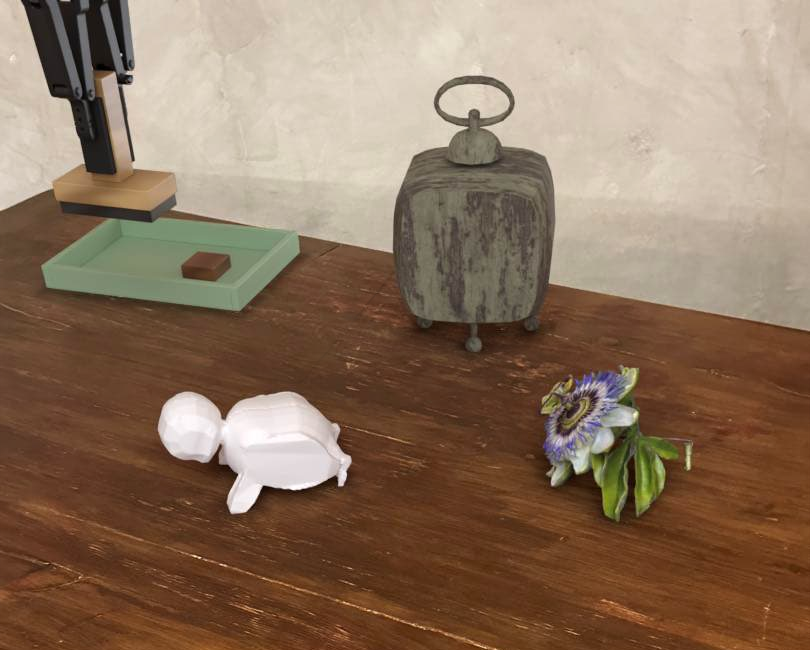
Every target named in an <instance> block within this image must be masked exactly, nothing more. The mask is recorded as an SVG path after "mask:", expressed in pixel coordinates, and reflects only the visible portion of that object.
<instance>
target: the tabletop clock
mask: <svg viewBox="0 0 810 650" xmlns="http://www.w3.org/2000/svg"><path fill="white" fill-rule="evenodd" d="M462 85H463V86H464V85H483V86H484V85H485V86H491V87H494V88H496V89H499V91H501V92H502V93H504V94H505V96H506V97H507V99H508V102H509V104H508V108H507V109H506V110H505V111H503V112H502V113H500V114H497V115H494V116H491V117H481V112H480V110H479V109H477V108H472V109H470V110H469V111H468V114H467V117H458V116H454V115H451V114H449V113H447V112H445V111H444V110H442V108H441V107H440V99H441V98H442V96H443V95H444V94H445V93H446V92H447V91H448V90H450V89H453V88H454V87H457V86H462ZM515 104H516V100H515V96H514V94H513V92H512V90H511V89H510V88H509V86H507V85H506V83H504V82H503V81H501V80H499V79H497V78H495V77H493V76H492V77H491V76H486V75H462V76H458V77H454V78H451V79H450V80H448V81H445V82H444V83H443V84H442V85H441V86H440V87H439V88H438V89H437V91H436V93H435V96H434V97H433V107H434V109H435V112H436V113H437V115H438V116H439V117H440V118H442V120H444V121H445V122H447V123H450V124H452V125H455V126H457V127H465V128H464V129H462V130H459V131H457V132H456V133H455V134H454V135H453V136H452V138H451V139H450V141H449V143H448V146H440V147H433V148H429V149H425V150H423V151H420V152H419V153H416V154H414V155H413V156H412V158H411V161H410V163H409V165H408V168H407V170H406V173H405V175H404V178H403V180H402V183H401V185H400V188H399V190H398V193H397V196H396V198H395V203H394V204H395V205H394V211H393V221H392V222H393V228H392V255H393V256H392V257H393V262H394V270H395V271H394V272H395V278H396V283H397V288H398V292H399V296H400V299H401V301H402V304H403V305H404V307H405V310H406V311H407V312H408V313H409V314H412V315H414V316H416V317H417V318H416V324H417V325H418V327H419V328H421V329H429V328H430V327H431V326H432V325H433V321H436V322H437V321H438V322H446V323H447V322H449V323H457V324H458V323H459V324H467V325H469V329H470V337H468V338H467V339H466V341H465V344H464V347H465V349H466V351H467V352H469V353H472V354H473V353H474V354H475V353H479V352H481V350H482V348H483V342H482V340H481V339H480V338H479V337H478V326H479V325H480V324H503V323H504V324H506V323H517V322H523V328H524V329H525V330H526V331H527V332H535V331H537V330H538V329H539V328H540V324H541V321H540V319H539V317H538V315H539V313H540V311H541V309H542V307H543V305H544V304H545V300H546V297H547V293H548V290H549V289H548V288H549V284H550V283H549V282H550V276H551V275H550V274H551V266H552V258H553V250H554V241H555V240H554V239H555V230H556V197H555V186H554V179H553V173H552V170H551V167H550V164H549V162H548V160H547V157H546V155H543V154H541V153H540V152H539V153H538V152H537V151H535V150H531V149H527V148H524V147H515V146H502V142H501V140H500V139H499V137H498V136H497V135H496V134H495V133H494V132H493V131H491V130H489V129H488V128H484V127H490V126H493V125H497V124H500V123H501V122H504V121H505V120H506V119H507V118H508V117H509V116H511V114H512V113H513V111H514V109H515Z"/></svg>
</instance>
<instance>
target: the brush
mask: <svg viewBox="0 0 810 650" xmlns="http://www.w3.org/2000/svg"><path fill="white" fill-rule="evenodd" d="M92 71H93V79H94V87H95V97H102V99H103V104H104V109H105V114H106V119H107V124H108V129H109V135H110V140H111V145H112V150H113V155H114V160H115V166H116V171H117V172H116V173H115V174H113V175H108V174H98V173H88V172H87V171H86V167H85V163H81V164H79V165H77V166H76V167H74V168H73V169H71V170H69V171H68V172H65V173H64V174H63V175H60V176H59V177H58V178H56V179H54V180H53V181H51V184H52V189H53V193H54V197H55V201H57V202H59V206H60V210H61V213H62V214H69V215H78V216H87V217H96V218H103V219H108V218H113V219H121V220H130V221H139V222H148V223H153V222H154V221H155V220H157V219H158V218H159V217H161V218H162V216H164V215H165V214H166V213H168V212H169V211H171V210H172V209H173V208H174V207H176V206H177V205H178V203H177V198H176V193H178V191H179V189H178V185H177V178H176V173H175V172H172V171H171V172H170V171H162V170H161V171H159V170H150V169H139V168H134V165H133V162H132V159H131V154H130V149H129V143H128V138H127V132H126V127H125V121H124V116H123V111H122V105H121V100H120V94H119V89H118V84H117V78H116V73H115V71H101V70H93V69H92Z"/></svg>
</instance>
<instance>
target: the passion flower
mask: <svg viewBox="0 0 810 650" xmlns="http://www.w3.org/2000/svg"><path fill="white" fill-rule="evenodd" d="M617 367H618V373H616V371H613V370H609V369H606V370H604V373H603V372H602V371H601V370H598V373H597V375H596V373H595V372H594V371H590V373H589V376H587V375H586V374H583V379H581V380H578V379H577V378H574V375H573V374H571V373H570V374H568V375H567V376H565V377H564V378H563V379H562V380H561V381H559V382H557V383H556V384H554V385H553V387H552V389H551V390H550V391H549V393H548V394H547V395H545V396H543V397H542V398H541V406H540V407H539V409H538V411H537V414H536V417H537V418H543V417H545V416H546V415H548V414H549V417H548V420H546V421H545V422H544V424H543V430H544V432H545V434H546V436H545V441H544V442H543V445H542V449H543V450H544V451H545V453H544V455H545V457H546V458H547V459H548V460H549V463H550V465H552V466H551V469H550V470H549V471H547V472H546V473H545V475H546V476H547V477H549V478H550V479H551V480H550V486H551V487H552V488H557V487H561V486H564V484H566V482H567V481H568V480H569V479H570V478H571V477H572V475H573V474H575V475H576V476H580V475H584V474H586V473H587V472H589V471H590V470H591V469H592V473H593V479H594V481H595V483H596V484H597V486H598V487H599V488H601V497H602V502H601V505H602V511H603V513H604V516H605V517H607V518H608V519H611V520H614V521H615V522H617V523H619V522H620V518H621V511H622V510H623V508H624V506H625V504H626V500H627V499H628V493H629V485H628V483H629V470H628V464H629V462H630V461H631V459H632V457H633V458H634V460H633V461H634V474H635V477H634V479H635V487H634V489H633V490H634V491H633V492H634V504H635V515H636V518H639V517H640V516H641V515H642V514H643V513H644V512H646V511H647V510H648V509H649V508H650V506H651V504H652V503H653V502H655V501H656V500H657V499H658V498H659V497H660V494H662V492H663V490H664V488H665V483H666V476H667V475H666V473H667V472H666V469H665V466H664V463H663V462H662V460H661V459H660V458H662V459H665V461H676V460H679V459H680V458H681V455H680V452H679V450H678V448H677V447H675V445H674V444H673V443H671V442H670V441H673V442H683V443H682V444H681V445H682V446H683V448H684V468H683V470H684V472H687V473H688V472H690V471H691V469H692V457H693V452H692V451H693V450H692V448H693V445H694V442H695V441H694V440H691V439H686V438H677V437H658V436H657V437H656V436H644V435H643V433H642V431H641V428H640V425H639V418H640V407H639V406H636V400H635V396H634V395H635V394H634V389H635V387H636V386H637V384H638V381H639V379H640V368H639V367H630V368H629V367H628V366H624V365H622V364H618V366H617ZM574 382H575V387H574V390H573V392H569V391H570V389H571V388H572V387H573V385H574ZM624 435H625V436H624ZM618 439H620V440H622V442H621V444H620V445H619V446H617V447H616V448H615V449H614V450H613V451H612V452H611V450H612V448H613V447H614V445H615V443H616V441H617V440H618ZM610 452H611V453H610Z"/></svg>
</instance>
